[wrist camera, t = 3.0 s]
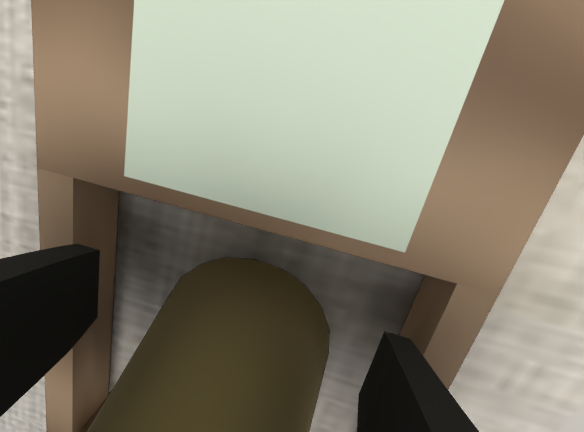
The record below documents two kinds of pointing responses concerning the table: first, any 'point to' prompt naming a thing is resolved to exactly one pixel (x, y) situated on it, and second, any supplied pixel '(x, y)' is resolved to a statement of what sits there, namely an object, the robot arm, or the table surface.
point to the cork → (225, 356)
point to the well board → (309, 140)
